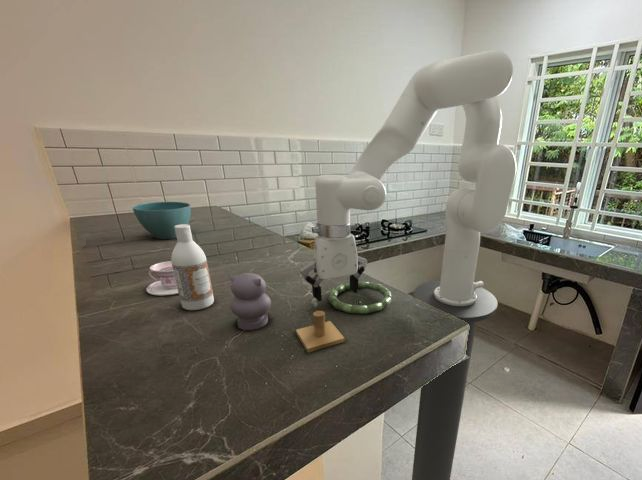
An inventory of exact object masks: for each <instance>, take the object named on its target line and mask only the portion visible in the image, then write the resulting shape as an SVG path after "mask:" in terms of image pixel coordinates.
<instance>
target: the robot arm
mask: <svg viewBox="0 0 642 480" xmlns="http://www.w3.org/2000/svg"><path fill="white" fill-rule="evenodd" d="M513 75H514V65H513V62H512V60H511V58H510V56H509V55H508V54H507V53H505V51H502V50H499V49H490V50H485V51H480V52H476V53H471V54H467V55H462V56H456V57H450V58H446V59H441V60H437V61H434V62H432V63H430V64H427V65H424V66H423V67H421V68H420V69H418V70H416V72H415V73H414V74H413V76H411V78H410V80H409V81H408V83H407V85H406V86H405V88H404V89H403V91H402V94H401V95H400V96H399V98H398V100H397V101H396V103H395V105H394V107H393V108H392V109H391V111H390V113H389V115H388V117H387V118H386V119H385V121H384V123H383V125H382V126H381V127H380V129H379V130H378V131H377V132H376V134H375V135H374V136H373V138H372V139H371V141H370V142H369V143H368V144H367V145H366V147H365V148H364V149H363V151H362V152H361V154H360V155H359V157H358V159H357V160H356V161H355V163H354V165H353V167H352V169H351V170H350V172H349V174H348V176H345V175H341V174H321V175H318V176H316V179H315V181H314V182H315V202H316V203H315V204H316V220H317V222H316V226H312V227H311V233H312V234H317V235H315V237H314V243H313V253H312V254H313V255H312V256H313V260H312V261H310V262H309V263H308V264H306V265H305V266H302V268H300V269H299V273H300V275H301V277H303V279H304V280H305V281H306V282H307V283H309V285H311V286H312V287H311V288H312V289H311V290H312V297H313V298H315V300H316V301H317V302H322V300H323V299H322V286H321V283H322V282H323V281H329V280H333V279H339V278H343V277H349V283H350V290H349V291H350V292H352V293H353V294H358V289H359V288H358V282H359V279H360V278H361V275H362V274H363V273H364V271H365V269H366V267H367V264H368V262H369V261H368V259H367V258H364V257H362V256H359V255H358V249H357V243H356V238H355V235H354V234H353V233H351V209H354V210H361V211H375V210H377V209H380V207H382V205H384V203H385V201H386V200H387V190H386V187H385V185H384V183H383V182H382V181H381V180H382V178H383V176H384V174H385V173H386V172H387V170H389V169H390V167H391V166H393V164H394V163H395V162H397V161H398V160H400V159H401V158H403V157H405V156H407V155H408V154H409V153H410V152H411V151H413V150H414V149H415V148H416V146H417V145H418V143H419V142H420V140H421V139H422V137H423V136H424V134H425V132H426V130H427V128H428V127H429V125H430V124H431V122H432V121H433V119H434V117H436V114H437V112H438V111H439V110H443V109H448V108H454V107H459V106H460V107H461V106H462V108H463V110H464V114H465V115H464V116H465V127H464V134H463V139H462V145H461V149H460V155H459V158H458V159H459V160H458V167H457V168H458V169H457V170H458V174H459V177H461V179H463V180H464V181H466V182H468V183H472V184H475V188H473V187H468V186H465V187H458V188H456V189H455V190H453V191H452V192H451V193H450V194H449V195H448V198H447V199H446V203H445V208H444V209H445V212H444V213H445V240H444V247H443V255H442V266H441V273H440V280H441V282H440V286H439V287H437V288H436V289H435V290H434V296H435V298H436V299H437V300H438V301H440V302H442V303H444V304H447V305H451V306H469V305H472V304H474V303H475V302H476V300H477V295H476V293H475V292H474V291H475V290H476V289H477V288H483V287H484V285H485V284H484V282H483V281H482V280H479V281H476V282H475V277H476V272H477V271H476V269H477V264H478V258H479V251H480V247H481V246H480V245H481V234H490V233H492V232H494V231H496V230H497V229H498V228H499V227H500V226H501V224H502V223H503V221H504V219H505V216H506V214H507V210H508V205H509V202H510V198H511V195H512V191H513V187H514V183H515V179H516V173H517V160H516V157H515V154H514V152H513V151H512V149H511V148H509V146H506V145H504V144H500V143H499V142H500V141H499V140H500V136H501V129H502V123H503V115H502V109H501V106H500V102H499V100H498V98H497V97H499V96H500V95H502V94H503V93H504V92H506V90H507V89H508V88H509V86H510V84H511V83H512V80H513ZM311 271H313V272H314V274H312V275H313V276H312V277H311V276H310V272H311Z"/></svg>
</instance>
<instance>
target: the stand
mask: <svg viewBox="0 0 642 480" xmlns="http://www.w3.org/2000/svg"><path fill="white" fill-rule="evenodd" d="M312 321H313V322H312V323H313V325H309V326H305V327H301V328H297V329H295V334H296V336H297V337H298V339H299V340H300V342H301V344H302V346H303V347H304V349H305V350H306V352H307V353H308V354H309V353H312V352H315V351H318V350H321V349H322V350H323V349H325V348H328V347H332V346H336V345H338V344H342V343H345V340H346V339H345V336H344V335H343V334H342V333H341V332H340V330H339V329H338V328H337V327H336V326H335V325H334V323H333V322H332V321H331V320H328V321H326V312H325V311H324V310H316V311H314V312H313V313H312Z"/></svg>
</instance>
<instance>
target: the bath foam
mask: <svg viewBox="0 0 642 480" xmlns="http://www.w3.org/2000/svg"><path fill="white" fill-rule="evenodd" d="M175 232H176V237H177V238H176V241H177V242H176V243H175V246H174V247H173V250H172V252H171V259H170V261H172V267H173V271H174V275H175V280H176V284H177V288H178V293H179V294H178V296H179V301H180V304H181V307H182V309H184V310H187V311H199V310H203V309H206V308H209V307H211V305H213V304H214V302H215V297H214V291H213V287H212V281H211V276H210V269H209V265H208V260H207V257H206V254H205V252H204V250H203V249H202V248H201V246H200V245H199V244H197V243H196V242H195V241H194V240H193V234H192V230H191V226H190V224H188V225H187V224H180V225H176V226H175Z"/></svg>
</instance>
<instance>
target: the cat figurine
mask: <svg viewBox="0 0 642 480" xmlns="http://www.w3.org/2000/svg"><path fill="white" fill-rule="evenodd" d="M227 276H228V278H229V280H230V282H231V284H230V290H231V292H232V294H233V298H232V299H231V301H230V305H229V307H230V310H231V312H232V313H233V315H235V316H236V317H237V318H236V324H237V326H238V328H239V329H241V330H243V331H253V330H257V329H260V328H262V327H264V326H266V325H267V324H268V323H269V317H268V312H270V310H271V307H272V300H271V298H270V296H269V295H268V294H266V289H267V285H266V281H265V279H264V278H263V277H262V276H260V275H259V274H257V273H253V272H244V273H241V274H239V275H236V274H230V273H227Z"/></svg>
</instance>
